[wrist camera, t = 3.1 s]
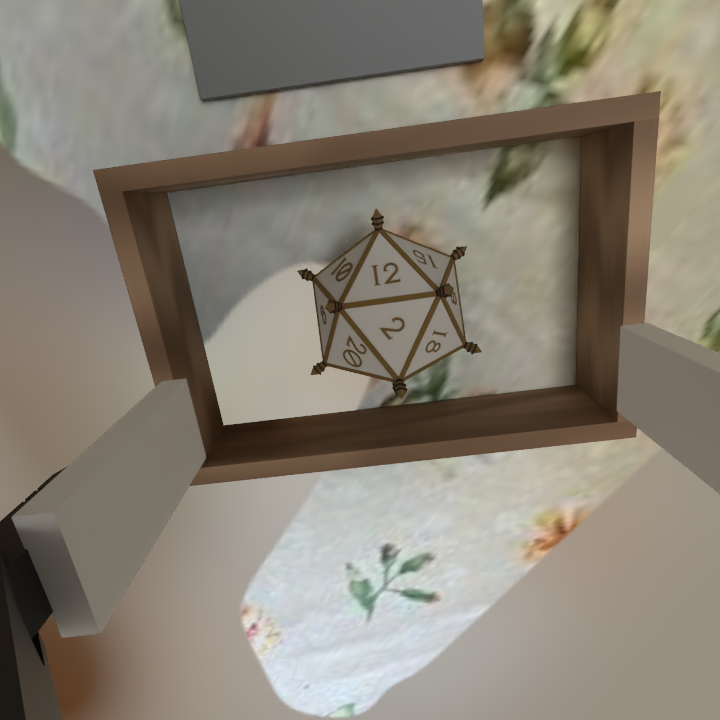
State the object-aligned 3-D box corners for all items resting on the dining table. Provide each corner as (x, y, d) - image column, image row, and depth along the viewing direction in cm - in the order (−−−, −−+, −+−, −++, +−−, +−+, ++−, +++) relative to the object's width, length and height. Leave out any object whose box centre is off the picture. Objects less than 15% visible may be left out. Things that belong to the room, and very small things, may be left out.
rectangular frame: (143, 174, 25) (93, 170, 20) (602, 111, 24) (660, 91, 19) (211, 441, 30) (184, 486, 26) (591, 398, 29) (636, 436, 25)
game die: (397, 309, 31) (421, 451, 26) (275, 271, 28) (272, 427, 22) (489, 208, 25) (547, 367, 20) (348, 141, 21) (370, 314, 16)
